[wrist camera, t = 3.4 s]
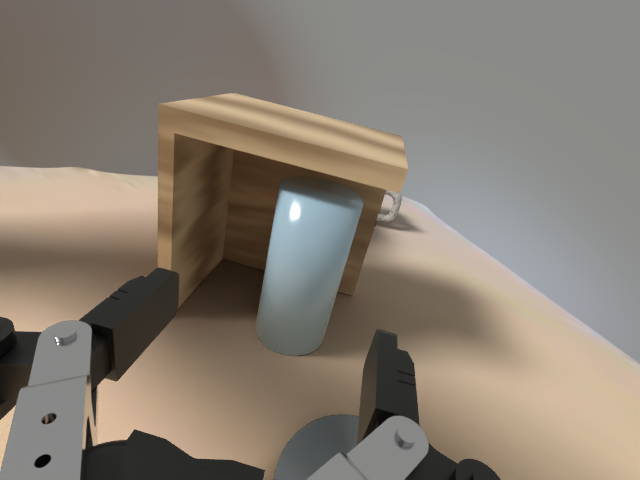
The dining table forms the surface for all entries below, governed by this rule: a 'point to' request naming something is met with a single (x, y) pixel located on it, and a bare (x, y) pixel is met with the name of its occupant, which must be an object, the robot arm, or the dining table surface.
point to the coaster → (317, 446)
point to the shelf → (257, 179)
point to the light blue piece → (305, 262)
